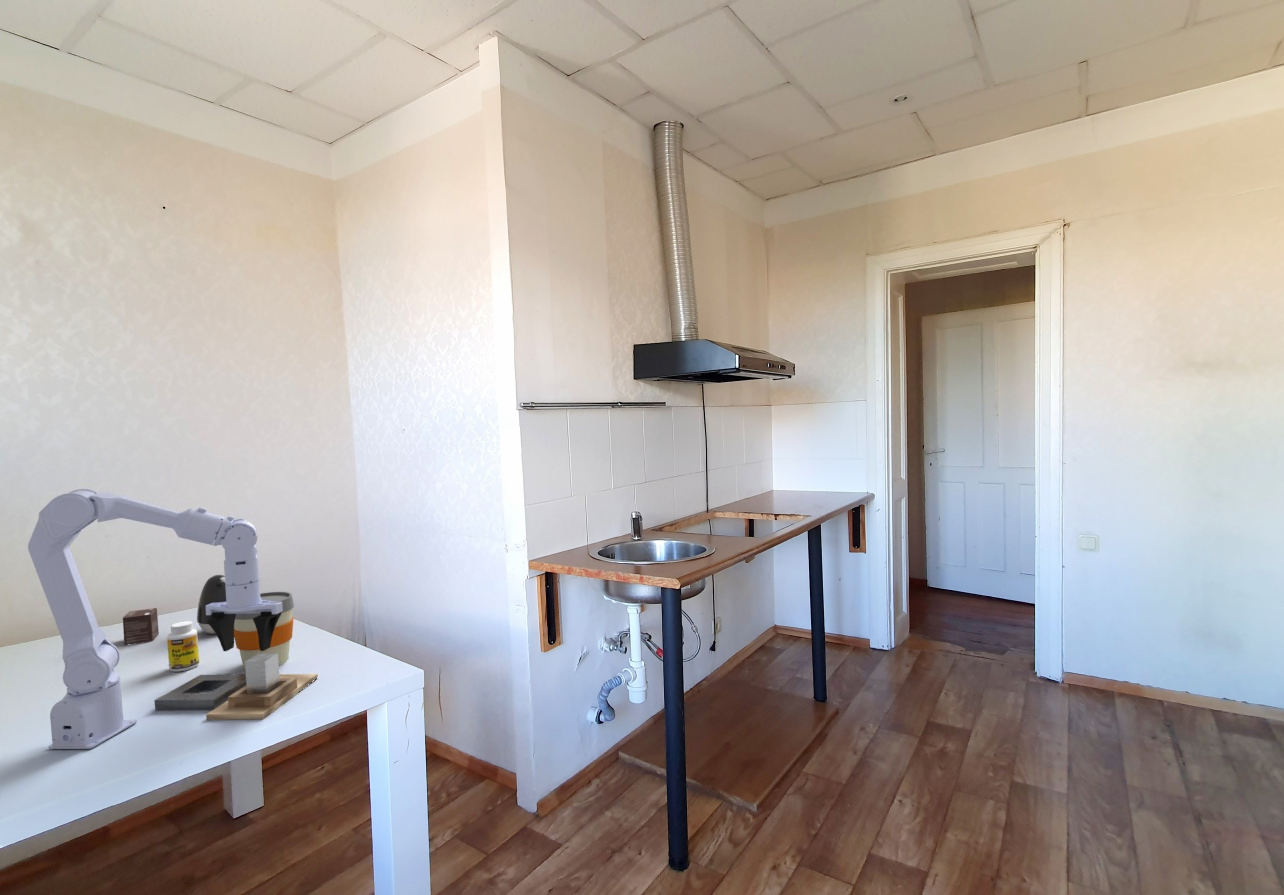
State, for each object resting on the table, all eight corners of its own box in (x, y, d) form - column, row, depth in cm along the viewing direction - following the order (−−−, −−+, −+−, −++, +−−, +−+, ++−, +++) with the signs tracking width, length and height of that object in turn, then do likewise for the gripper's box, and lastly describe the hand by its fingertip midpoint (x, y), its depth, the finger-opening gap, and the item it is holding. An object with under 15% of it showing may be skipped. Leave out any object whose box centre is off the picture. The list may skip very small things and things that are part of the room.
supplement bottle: (168, 674, 140) (165, 629, 140) (170, 666, 145) (167, 623, 144) (199, 668, 143) (195, 624, 143) (200, 661, 148) (196, 618, 147)
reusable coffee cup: (308, 658, 147) (304, 594, 146) (252, 678, 136) (248, 610, 136) (278, 649, 154) (274, 588, 153) (222, 668, 143) (218, 603, 142)
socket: (214, 709, 122) (213, 699, 122) (155, 710, 122) (154, 700, 122) (255, 683, 134) (254, 673, 134) (201, 683, 134) (200, 674, 134)
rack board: (263, 719, 117) (262, 703, 117) (206, 719, 118) (205, 703, 118) (317, 678, 135) (317, 664, 135) (268, 679, 136) (267, 665, 136)
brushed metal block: (267, 701, 122) (264, 661, 122) (247, 701, 122) (244, 661, 122) (280, 692, 126) (277, 653, 126) (261, 692, 126) (258, 653, 126)
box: (131, 638, 166) (129, 611, 165) (159, 634, 168) (157, 607, 168) (123, 645, 160) (121, 617, 160) (153, 641, 163) (150, 613, 162)
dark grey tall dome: (201, 640, 162) (197, 582, 161) (195, 631, 170) (191, 575, 169) (247, 630, 169) (243, 574, 168) (239, 621, 177) (235, 568, 176)
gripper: (290, 575, 128) (294, 641, 129) (222, 577, 129) (226, 642, 129) (267, 585, 121) (271, 654, 122) (195, 586, 122) (200, 655, 122)
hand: (246, 649), depth 125 cm, fingers open, 7 cm apart
